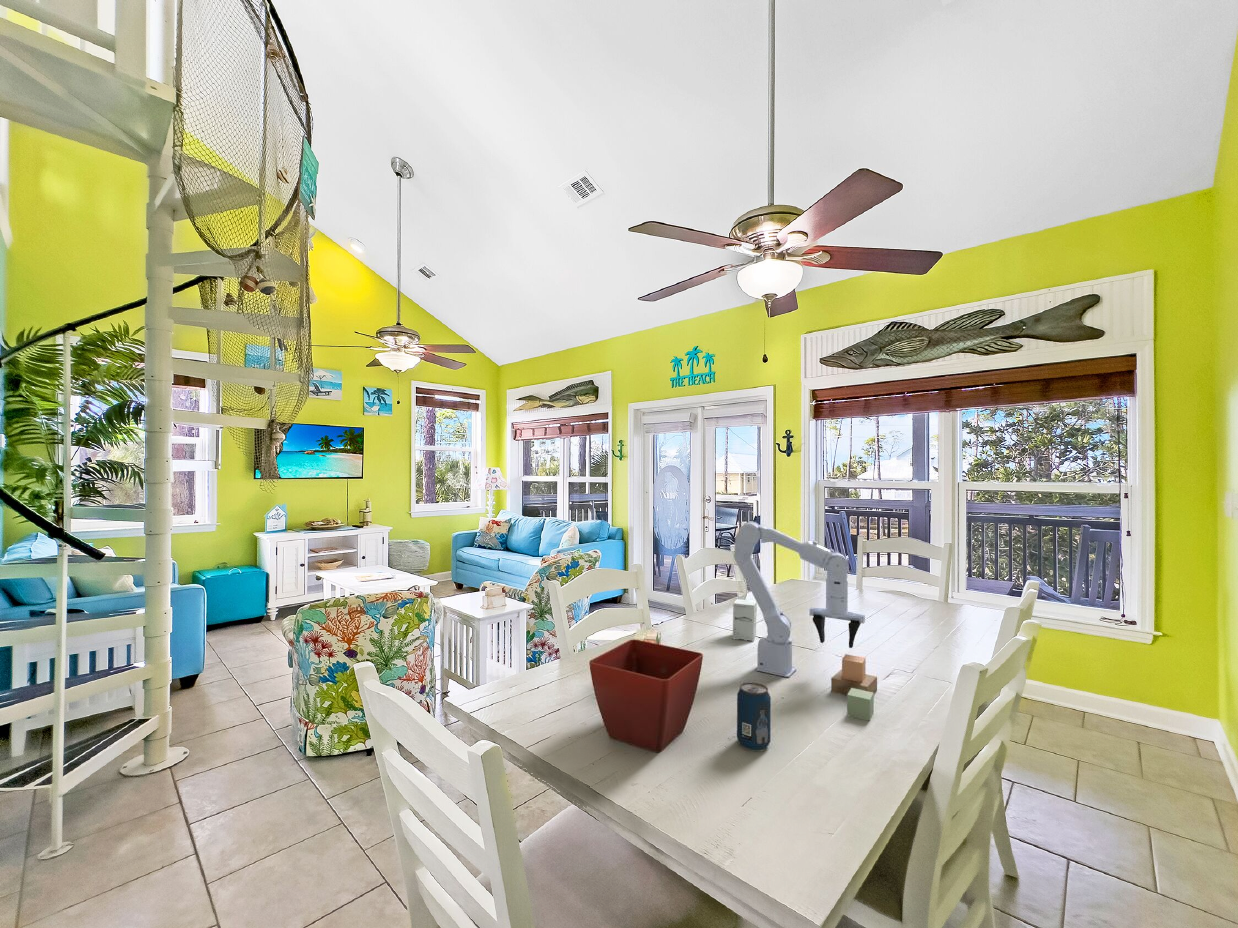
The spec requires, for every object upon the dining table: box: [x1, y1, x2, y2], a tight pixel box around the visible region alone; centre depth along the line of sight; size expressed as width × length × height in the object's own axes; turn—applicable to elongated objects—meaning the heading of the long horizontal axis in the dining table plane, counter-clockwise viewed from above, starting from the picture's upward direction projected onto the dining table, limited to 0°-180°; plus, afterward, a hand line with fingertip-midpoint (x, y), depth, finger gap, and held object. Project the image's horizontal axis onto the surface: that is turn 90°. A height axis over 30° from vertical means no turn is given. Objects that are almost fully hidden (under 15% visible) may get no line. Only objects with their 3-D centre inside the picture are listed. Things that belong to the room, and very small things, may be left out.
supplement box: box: [732, 598, 758, 642], centre depth 191 cm, size 7×7×13 cm
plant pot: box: [588, 639, 704, 753], centre depth 120 cm, size 19×19×17 cm
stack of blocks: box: [632, 628, 662, 645], centre depth 156 cm, size 21×6×12 cm, turn 170°
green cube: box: [846, 688, 875, 721], centre depth 131 cm, size 5×5×5 cm
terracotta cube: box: [841, 653, 867, 682], centre depth 144 cm, size 5×5×5 cm
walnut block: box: [830, 668, 878, 697], centre depth 144 cm, size 9×9×4 cm
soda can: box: [736, 682, 772, 752], centre depth 115 cm, size 7×7×12 cm
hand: (836, 644), depth 154 cm, fingers open, 7 cm apart
